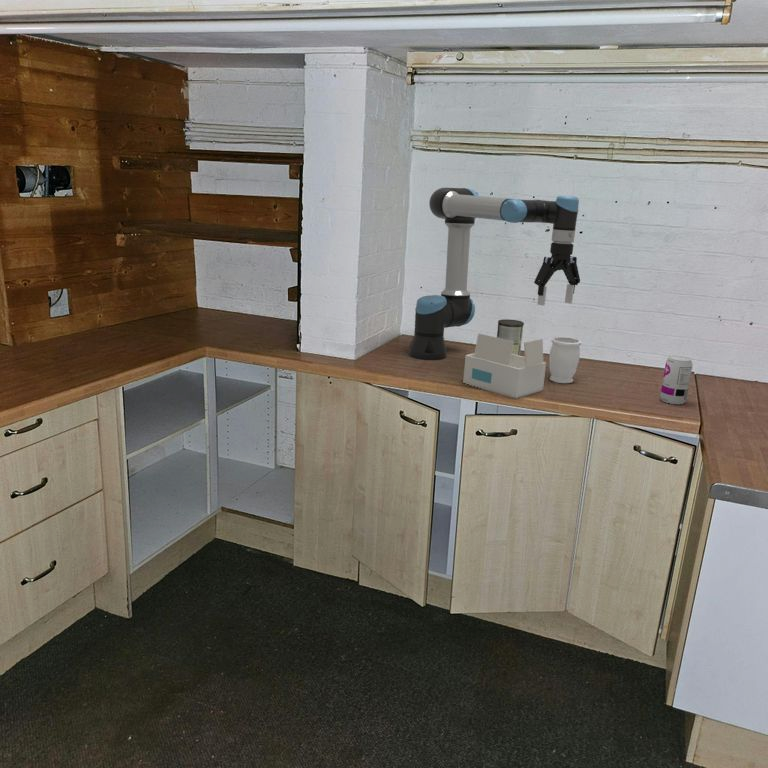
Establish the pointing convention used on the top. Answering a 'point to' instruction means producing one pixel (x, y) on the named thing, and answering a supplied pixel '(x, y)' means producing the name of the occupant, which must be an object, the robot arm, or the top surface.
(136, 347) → the top surface
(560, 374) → the jar
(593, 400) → the top surface
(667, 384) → the supplement can
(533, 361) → the end flap
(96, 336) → the top surface
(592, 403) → the top surface
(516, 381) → the carton
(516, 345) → the coffee can
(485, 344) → the front flap
